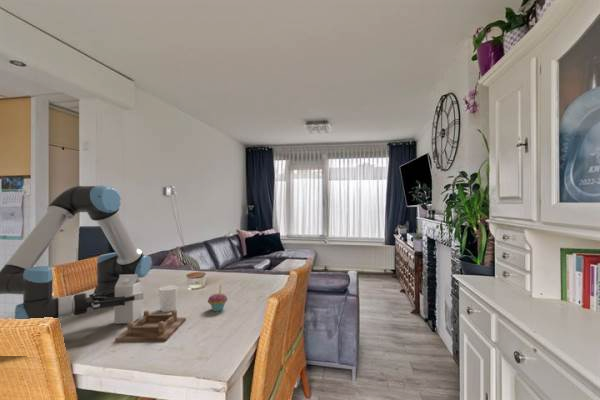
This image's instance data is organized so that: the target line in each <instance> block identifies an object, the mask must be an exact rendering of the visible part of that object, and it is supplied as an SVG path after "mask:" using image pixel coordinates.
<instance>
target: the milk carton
mask: <svg viewBox="0 0 600 400" xmlns="http://www.w3.org/2000/svg"><path fill="white" fill-rule="evenodd" d="M141 292H142V281H141V280H140V278H138V277H137V274H130V275H119V279H118V281H117V283H116V285H115V297H125V295H130V294H135V293H141ZM120 301H121V300H120ZM141 315H142V299H141V300H136V301H131V302H126V303H125V305H120V306H114V324H117V325H118V324H127V323H128V322H134V323H135V322H136V321H138V320H139V319H140V318H141V317H142V316H141Z"/></svg>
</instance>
